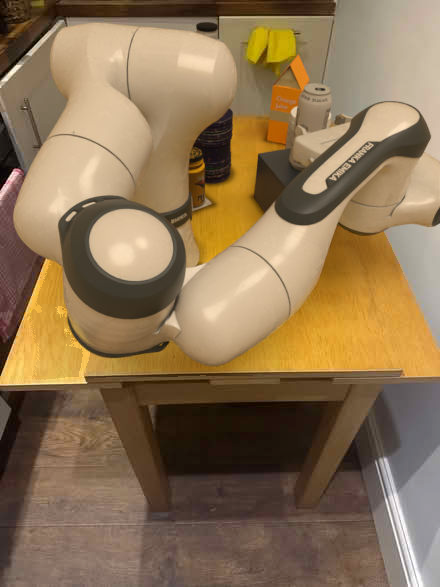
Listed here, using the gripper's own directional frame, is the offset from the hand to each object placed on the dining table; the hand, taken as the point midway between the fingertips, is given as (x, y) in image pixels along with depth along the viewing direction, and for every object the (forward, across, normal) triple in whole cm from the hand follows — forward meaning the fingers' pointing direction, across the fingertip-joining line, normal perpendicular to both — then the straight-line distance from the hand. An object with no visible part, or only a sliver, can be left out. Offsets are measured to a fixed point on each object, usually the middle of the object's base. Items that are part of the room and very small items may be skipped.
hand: (318, 123), depth 76 cm
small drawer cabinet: (+2, 0, -20) cm, 21 cm away
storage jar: (+24, -9, -21) cm, 33 cm away
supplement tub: (+14, +11, -21) cm, 28 cm away
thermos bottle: (+38, -3, -21) cm, 43 cm away
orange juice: (+31, +18, -21) cm, 42 cm away
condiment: (+16, -20, -21) cm, 33 cm away
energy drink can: (+2, 0, -10) cm, 10 cm away
